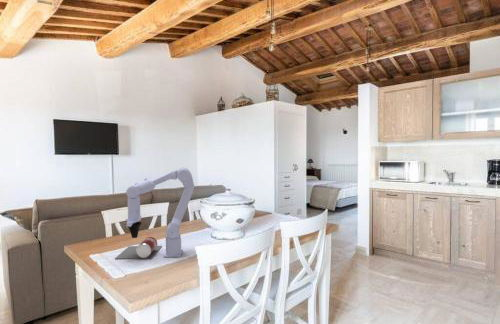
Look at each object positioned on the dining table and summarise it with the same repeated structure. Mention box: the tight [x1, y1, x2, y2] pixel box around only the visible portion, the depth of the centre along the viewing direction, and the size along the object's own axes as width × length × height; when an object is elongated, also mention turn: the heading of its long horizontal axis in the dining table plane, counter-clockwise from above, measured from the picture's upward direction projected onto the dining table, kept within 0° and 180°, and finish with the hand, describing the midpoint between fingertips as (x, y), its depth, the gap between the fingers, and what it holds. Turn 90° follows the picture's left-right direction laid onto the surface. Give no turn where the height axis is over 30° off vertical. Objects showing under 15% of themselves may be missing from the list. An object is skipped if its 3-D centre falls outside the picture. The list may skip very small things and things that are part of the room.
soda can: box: [136, 236, 158, 258], centre depth 147 cm, size 7×7×12 cm
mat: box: [114, 245, 163, 260], centre depth 151 cm, size 18×18×1 cm
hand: (134, 237), depth 144 cm, fingers closed
